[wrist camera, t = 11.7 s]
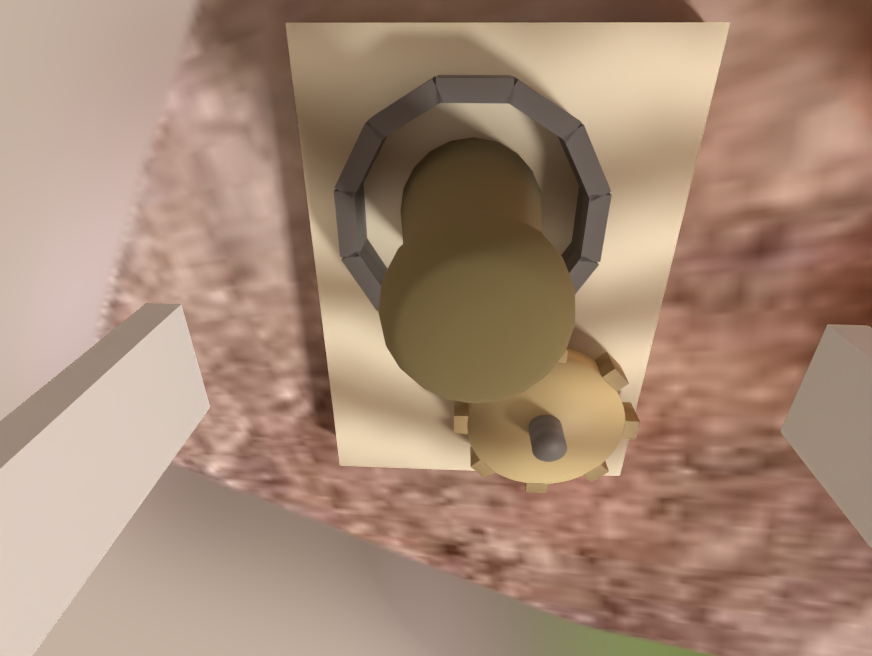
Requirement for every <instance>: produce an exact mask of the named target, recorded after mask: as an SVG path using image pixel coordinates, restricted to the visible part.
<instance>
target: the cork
mask: <svg viewBox="0 0 872 656" xmlns="http://www.w3.org/2000/svg"><path fill="white" fill-rule="evenodd" d="M401 222H402V235H403V244H402V245H401V246H400V247H399V248H398V250H397V252H396V254H395V256H394V258H393V259H392V261H391V263H390V265H389V267H388V269H387V271H386V273H385V275H384V278H383V280H382V284H381V292H380V299H379V307H378V312H379V317H380V322H381V326H382V331H383V335H384V340H385V344H386V347H387V348H388V350H389V352H390V353H391V355H392V357H393V358H394V360H395V361H396V363H397V365H398V366H399V368H400V369H401V370H402V371H404V372H405V373H406V374H407V375H408V376H409V377H411V378H412V379H413V380H414V381H415V382H416V383H418V384H419V385H420V386H421V387H423V388H424V389H426V390H428V391H430V392H432V393H435V394H437V395H439V396H441V397H443V398H446V399H448V400H454V401H460V402H466V403H472V404H474V403H486V402H497V401H501V400H504V399H507V398H509V397H512V396H515V395H518V394H521V393H523V392H524V391H526V390H527V389H529V388H530V387H532V386H533V385H534V384H536V383H537V382H539V381H540V380H541V379H543V378H544V377H545V376H546V375H548V374H549V372H550V371H551V370H552V369H553V367H554V366H555V365H556V364H557V362H558V361H559V360H560V358H561V357H562V356H563V355H564V353H565V352H566V349H567V346H568V343H569V340H570V338H571V335H572V332H573V329H574V326H575V287H574V285H573V282H572V280H571V277H570V275H569V272H568V269H567V267H566V264H565V262H564V260H563V258H562V256H561V254H560V253H559V252H558V250H557V249H556V248H555V247H554V246H553V245H552V244H551V243H550V242H549V240H548V239H547V238H546V237H545V236H544V235H543V234H542V208H541V191H540V188H539V186H538V183H537V181H536V178H535V176H534V173H533V171H532V170H531V168H530V167H529V166H528V165H527V164H526V163H525V161H524V160H523V159H522V158H521V157H520V156H519V154H518V153H516V152H514V151H513V150H511V149H509V148H507V147H506V146H504V145H502V144H501V143H499V142H496V141H491V140H486V139H480V138H475V137H473V138H466V139H460V140H453V141H449V142H447V143H446V144H444V145H442V146H440V147H438V148H436V149H434V150H432V151H430V152H429V153H428V154H427V155H426V156H425V157H424V158H423V159H422V160H421V161H420V162H419V163H418V164H417V165H416V166H415V167H414V168H413V170H412V172H411V174H410V176H409V178H408V180H407V182H406V185H405V187H404V189H403V196H402V204H401Z"/></svg>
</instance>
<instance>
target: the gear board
mask: <svg viewBox="0 0 872 656" xmlns="http://www.w3.org/2000/svg"><path fill="white" fill-rule="evenodd" d="M285 25H286V33H287V41H288V49H289V57H290V65H291V73H292V81H293V89H294V98H295V106H296V114H297V122H298V130H299V138H300V146H301V154H302V162H303V170H304V179H305V187H306V195H307V203H308V211H309V219H310V227H311V235H312V243H313V251H314V260H315V268H316V276H317V284H318V292H319V300H320V308H321V316H322V324H323V332H324V341H325V349H326V357H327V365H328V373H329V381H330V389H331V397H332V405H333V413H334V422H335V430H336V438H337V446H338V454H339V462H340V466H365V467H392V468H419V469H446V470H473V471H476V472H478V473H479V474H480V475H481V476H483V477H484V478H486V477H488V476H489V475H491V474H492V473H494V472H496V473H498V474H500V475H502V476H504V477H507V478H509V479H512V480H516V481H519V482H524V483H525V491H526V492H530V493H547V487H548V484H550V483H558V482H563V481H568V480H571V479H574V478H577V477H579V476H582V475H584V476H585V477H586V478H587V479H588V480H589V481H590V482H593V481H594V480H596V479H598V478H599V477H601V476H603V475H609V476H620V473H621V469H622V465H623V460H624V456H625V452H626V448H627V444H628V440H629V439H636V435H637V431H638V427H639V423H640V421H639V419H638V417H637V414H636V412H635V411H636V407H637V403H638V399H639V395H640V391H641V387H642V383H643V378H644V374H645V370H646V366H647V362H648V358H649V354H650V350H651V346H652V342H653V337H654V333H655V329H656V325H657V321H658V317H659V313H660V309H661V305H662V301H663V296H664V292H665V288H666V284H667V280H668V276H669V272H670V268H671V264H672V260H673V255H674V251H675V247H676V243H677V239H678V235H679V231H680V227H681V223H682V218H683V214H684V210H685V206H686V202H687V198H688V194H689V190H690V186H691V182H692V177H693V173H694V169H695V165H696V161H697V157H698V153H699V149H700V145H701V141H702V136H703V132H704V128H705V124H706V120H707V116H708V112H709V108H710V104H711V100H712V95H713V91H714V87H715V83H716V79H717V75H718V71H719V67H720V63H721V59H722V54H723V50H724V46H725V42H726V38H727V34H728V30H729V26H730V22H547V23H285ZM473 137H475V138H480V139H486V140H491V141H496V142H499V143H501V144H502V145H504V146H506V147H507V148H509V149H511V150H513V151H514V152H516V153H518V154H519V156H520V157H521V158H522V159H523V160H524V161H525V163H526V164H527V165H528V166H529V167H530V168H531V170H532V171H533V173H534V176H535V178H536V181H537V183H538V186H539V188H540V191H541V208H542V234H543V235H544V236H545V237H546V238H547V239H548V240H549V242H550V243H551V244H552V245H553V246H554V247H555V248H556V249H557V250H558V252H559V253H560V254H561V256H562V258H563V260H564V262H565V264H566V267H567V269H568V272H569V275H570V277H571V280H572V282H573V285H574V287H575V326H574V329H573V332H572V335H571V338H570V340H569V343H568V346H567V349H566V352H565V353H564V355H563V356H562V357H561V358H560V360H559V361H558V362H557V364H556V365H555V366H554V367H553V369H552V370H551V371H550V372H549V374H548V375H546V376H545V377H544V378H543V379H541V380H540V381H539V382H537V383H536V384H534V385H533V386H532V387H530V388H529V389H527V390H526V391H524V392H523V393H521V394H518V395H515V396H512V397H509V398H507V399H504V400H501V401H497V402H486V403H474V404H472V403H466V402H460V401H454V400H448V399H446V398H443V397H441V396H439V395H437V394H435V393H432V392H430V391H428V390H426V389H424V388H423V387H421V386H420V385H419V384H418V383H416V382H415V381H414V380H413V379H412V378H411V377H409V376H408V375H407V374H406V373H405V372H404V371H402V370H401V369H400V368H399V366H398V365H397V363H396V361H395V360H394V358H393V357H392V355H391V353H390V352H389V350H388V348H387V347H386V344H385V340H384V335H383V331H382V326H381V322H380V317H379V312H378V307H379V299H380V292H381V284H382V280H383V278H384V275H385V273H386V271H387V269H388V267H389V265H390V263H391V261H392V259H393V258H394V256H395V254H396V252H397V250H398V248H399V247H400V246H401V245H402V244H403V235H402V222H401V204H402V196H403V189H404V187H405V185H406V182H407V180H408V178H409V176H410V174H411V172H412V170H413V168H414V167H415V166H416V165H417V164H418V163H419V162H420V161H421V160H422V159H423V158H424V157H425V156H426V155H427V154H428V153H429V152H430V151H432V150H434V149H436V148H438V147H440V146H442V145H444V144H446V143H447V142H449V141H453V140H460V139H466V138H473Z"/></svg>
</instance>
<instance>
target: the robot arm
mask: <svg viewBox="0 0 872 656" xmlns="http://www.w3.org/2000/svg"><path fill="white" fill-rule="evenodd" d="M209 408H210V405H209V401H208V398H207V394H206V391H205V387H204V384H203V380H202V377H201V373H200V369H199V366H198V362H197V359H196V355H195V352H194V348H193V344H192V341H191V337H190V334H189V330H188V327H187V323H186V320H185V316H184V312H183V309H182V305H181V304H154V303H146V304H145V305H143V306H142V307H141V308H140V309H139V310H137V311H136V312H135V313H134V314H132V315H131V316H130V317H129V318H127V319H126V320H125V321H124V322H122V323H121V324H120V325H119V326H117V327H116V328H115V329H114V330H113V331H111V332H110V333H109V334H108V335H106V336H105V337H104V338H103V339H101V340H100V341H99V342H98V343H96V344H95V345H94V346H93V347H92V348H90V349H89V350H88V351H87V352H85V353H84V354H83V355H82V356H80V357H79V358H78V359H77V360H75V361H74V362H73V363H72V364H70V365H69V366H68V367H67V368H66V369H65V370H63V371H62V372H61V373H59V374H58V375H57V376H56V377H54V378H53V379H52V380H51V381H50V382H48V383H47V384H46V385H45V386H43V387H42V388H41V389H40V390H38V391H37V392H36V393H35V394H33V395H32V396H31V397H30V398H29V399H27V400H26V401H25V402H23V403H22V404H21V405H20V406H19V407H17V408H16V409H15V410H14V411H12V412H11V413H10V414H9V415H7V416H6V417H5V418H4V419H2V420H1V421H0V656H33V654H34V653H35V652H36V650H37V649H38V647H39V646H40V645H41V643H42V642H43V640H44V639H45V638H46V636H47V635H48V633H49V632H50V631H51V629H52V628H53V626H54V625H55V623H56V622H57V621H58V619H59V618H60V617H61V615H62V614H63V612H64V611H65V610H66V608H67V607H68V605H69V604H70V603H71V601H72V600H73V598H74V597H75V595H76V594H77V593H78V591H79V590H80V589H81V587H82V586H83V584H84V583H85V582H86V580H87V579H88V577H89V576H90V574H91V573H92V572H93V570H94V569H95V568H96V566H97V565H98V563H99V562H100V561H101V559H102V558H103V556H104V555H105V553H106V552H107V551H108V549H109V548H110V547H111V545H112V544H113V542H114V541H115V540H116V538H117V537H118V535H119V534H120V533H121V531H122V530H123V528H124V527H125V526H126V524H127V523H128V521H129V520H130V519H131V517H132V516H133V514H134V513H135V512H136V510H137V509H138V507H139V506H140V505H141V503H142V502H143V500H144V499H145V498H146V496H147V495H148V493H149V492H150V491H151V489H152V488H153V486H154V485H155V483H156V482H157V481H158V479H159V478H160V477H161V475H162V474H163V473H164V471H165V470H166V468H167V467H168V466H169V464H170V463H171V461H172V460H173V459H174V457H175V456H176V454H177V453H178V452H179V450H180V449H181V447H182V446H183V445H184V443H185V442H186V440H187V439H188V438H189V436H190V435H191V433H192V432H193V431H194V429H195V428H196V426H197V425H198V424H199V422H200V421H201V419H202V418H203V417H204V415H205V414H206V412H207V411H208V410H209ZM780 432H781V433H782V435H783V436H784V437H785V439H786V440H787V441H788V442H789V444H790V445H791V446H792V447H793V449H794V450H795V451H796V453H797V454H798V455H799V456H800V458H801V459H802V460H803V462H804V463H805V464H806V465H807V467H808V468H809V469H810V471H811V472H812V473H813V474H814V476H815V477H816V478H817V480H818V481H819V482H820V483H821V485H822V486H823V487H824V489H825V490H826V491H827V492H828V494H829V495H830V496H831V498H832V499H833V500H834V501H835V503H836V504H837V505H838V507H839V508H840V509H841V510H842V512H843V513H844V514H845V516H846V517H847V518H848V519H849V521H850V522H851V523H852V524H853V526H854V527H855V528H856V530H857V531H858V532H859V533H860V535H861V536H862V537H863V539H864V540H865V541H866V542H867V544H868V545H869V546H870V548H871V549H872V328H871V327H869V326H867V325H834V324H827V326H826V329H825V331H824V333H823V336H822V338H821V340H820V342H819V345H818V347H817V349H816V351H815V354H814V356H813V358H812V360H811V363H810V365H809V367H808V369H807V372H806V374H805V376H804V378H803V381H802V383H801V385H800V388H799V390H798V392H797V394H796V397H795V399H794V401H793V403H792V406H791V408H790V410H789V412H788V415H787V417H786V419H785V421H784V424H783V426H782V428H781V430H780Z"/></svg>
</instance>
